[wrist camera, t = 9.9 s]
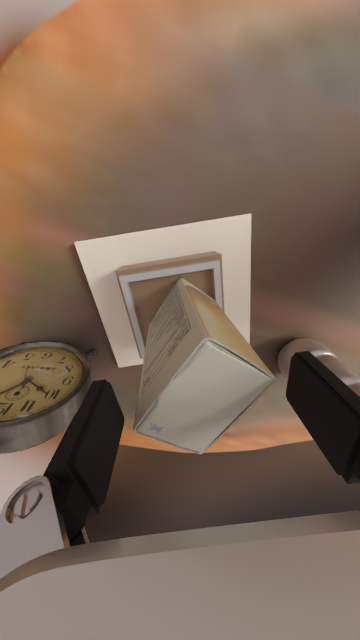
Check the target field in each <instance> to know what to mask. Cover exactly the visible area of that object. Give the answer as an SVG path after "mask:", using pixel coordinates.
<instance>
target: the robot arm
mask: <svg viewBox="0 0 360 640" xmlns="http://www.w3.org/2000/svg"><path fill="white" fill-rule="evenodd" d="M286 397H287V400H288V402H289V403H290V405H291V406H292V408H293V409H294V411H295V412H296V414H297V415H298V417H299V418H300V420H301V421H302V423H303V424H304V426H305V427H306V429H307V430H308V432H309V433H310V435H311V436H312V438H313V439H314V441H315V442H316V443H317V445H318V447H319V448H320V449H321V451H322V453H323V454H324V455H325V457H326V458H327V460H328V461H329V463H330V464H331V466H332V467H333V469H334V470H335V472H336V473H337V474H338V475H342V476H343V478H344V479H345V481H346V482H347V484H352V483H360V397H359V396H358V395H357V394H356V393H355V392H354V391H353V390H352V389H350V388H349V387H348V386H347V385H346V384H345V383H344V382H343V381H342V380H340V379H339V378H338V377H337V376H336V375H335V374H334V373H333V372H332V371H330V370H329V369H328V368H327V367H326V366H325V365H324V364H323V363H322V362H320V361H319V360H318V359H317V358H316V357H315V356H314V355H313V354H312V353H310V352H309V351H302V352H296V353H294V356H292V357H291V361H290V368H289V376H288V383H287V391H286ZM123 425H124V416H123V413H122V411H121V408H120V406H119V403H118V401H117V398H116V396H115V393H114V391H113V388H112V386H111V384H110V382H107V381H106V380H98V381H93V382H92V384H91V386H90V388H89V390H88V392H87V394H86V396H85V398H84V400H83V402H82V404H81V406H80V408H79V409H78V411H77V412H76V414H75V415H74V417H73V419H72V421H71V423H70V425H69V427H68V428H67V430H66V433H65V434H64V436H63V438H62V440H61V442H60V444H59V446H58V448H57V450H56V452H55V454H54V456H53V457H52V460H51V461H50V463H49V465H48V467H47V469H46V471H45V473H44V475H43V476H36V477H33V478H30V479H29V480H27V481H25V482H24V483H23V484H21V485H20V486H19V487H18V488H17V489H16V490H15V491H14V492H13V493H12V494H11V496H10V497H9V498H8V500H7V501H6V503H5V505H4V507H3V509H2V511H1V513H0V640H360V511H351V512H341V513H332V514H323V515H314V516H305V517H297V518H288V519H279V520H270V521H262V522H253V523H244V524H236V525H227V526H219V527H211V528H203V529H194V530H186V531H179V532H170V533H162V534H154V535H145V536H137V537H130V538H122V539H116V540H108V541H101V542H95V543H89V541H88V538H87V535H86V532H85V529H84V526H85V523H86V520H87V516H90V515H98V514H99V510H100V506H101V505H103V504H104V502H105V499H106V496H107V491H108V487H109V483H110V479H111V475H112V471H113V466H114V462H115V458H116V454H117V450H118V446H119V442H120V438H121V434H122V430H123Z"/></svg>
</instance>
